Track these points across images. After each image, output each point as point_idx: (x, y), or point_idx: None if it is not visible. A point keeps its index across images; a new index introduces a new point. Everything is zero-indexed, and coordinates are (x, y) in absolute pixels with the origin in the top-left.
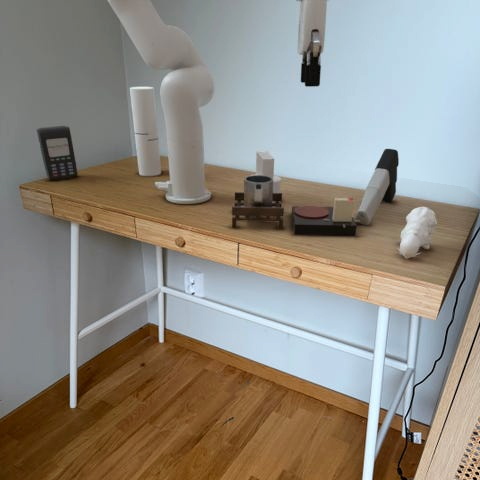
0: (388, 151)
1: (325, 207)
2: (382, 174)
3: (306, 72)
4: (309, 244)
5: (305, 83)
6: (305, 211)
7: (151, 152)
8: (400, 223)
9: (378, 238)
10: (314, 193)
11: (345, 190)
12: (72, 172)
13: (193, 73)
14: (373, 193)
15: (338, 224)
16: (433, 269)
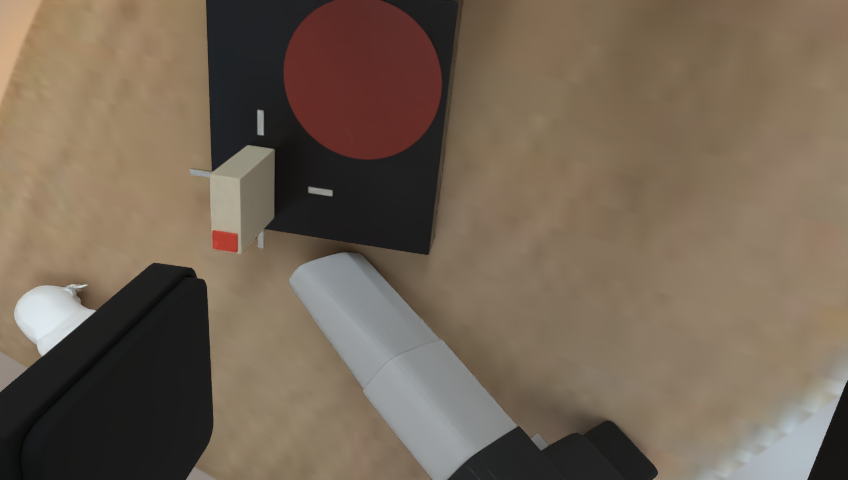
0: None
1: (426, 160)
2: (420, 453)
3: (48, 371)
4: (134, 13)
5: (143, 278)
6: (354, 51)
7: None
8: (358, 390)
9: (216, 272)
10: (796, 188)
11: (804, 343)
12: None
13: None
14: (347, 360)
15: (219, 157)
16: (14, 329)
